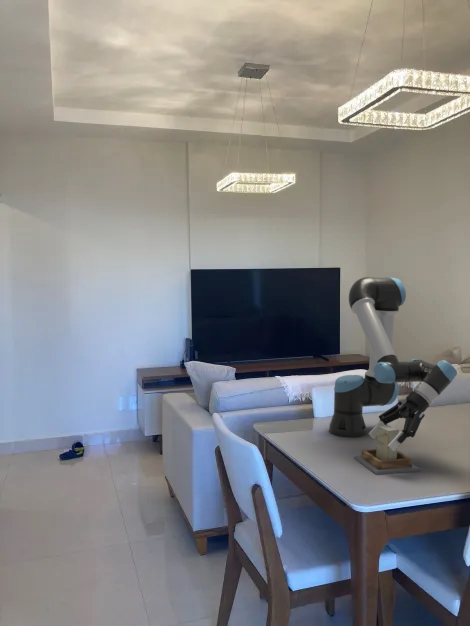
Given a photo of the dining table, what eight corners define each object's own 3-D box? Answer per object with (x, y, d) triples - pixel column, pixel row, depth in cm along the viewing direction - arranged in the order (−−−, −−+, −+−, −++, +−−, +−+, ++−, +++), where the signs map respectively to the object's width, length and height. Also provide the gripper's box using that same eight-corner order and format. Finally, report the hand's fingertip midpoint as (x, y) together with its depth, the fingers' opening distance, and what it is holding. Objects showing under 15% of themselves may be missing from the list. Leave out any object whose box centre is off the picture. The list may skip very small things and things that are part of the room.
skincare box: (375, 459, 190) (376, 425, 189) (385, 458, 191) (387, 424, 190) (386, 465, 184) (388, 430, 183) (397, 464, 185) (398, 429, 185)
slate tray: (354, 458, 194) (354, 455, 194) (394, 455, 197) (394, 452, 197) (376, 474, 178) (376, 471, 178) (419, 471, 182) (419, 468, 182)
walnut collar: (361, 457, 192) (361, 450, 192) (392, 454, 195) (393, 448, 195) (378, 469, 180) (378, 461, 180) (411, 466, 183) (412, 459, 183)
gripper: (449, 413, 178) (406, 461, 175) (408, 397, 202) (370, 438, 200) (436, 398, 176) (392, 446, 174) (396, 383, 200) (357, 425, 198)
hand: (380, 442), depth 187 cm, fingers open, 13 cm apart
